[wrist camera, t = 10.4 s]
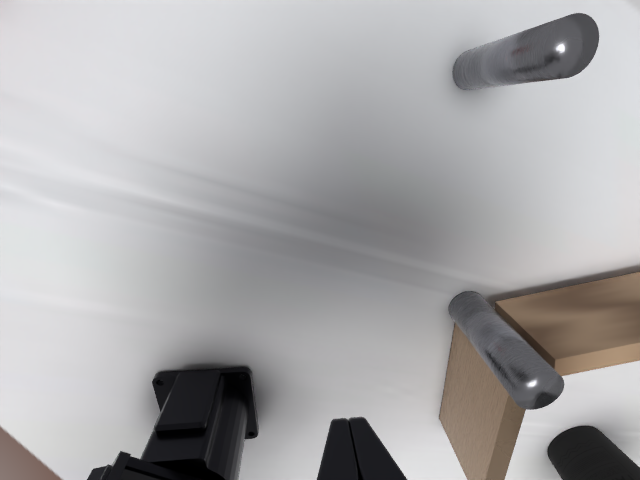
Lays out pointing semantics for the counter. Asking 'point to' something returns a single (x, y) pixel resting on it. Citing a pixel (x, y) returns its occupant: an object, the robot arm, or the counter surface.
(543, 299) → the gate leaf
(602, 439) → the drinking cup
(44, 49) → the counter surface
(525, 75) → the gate frame
